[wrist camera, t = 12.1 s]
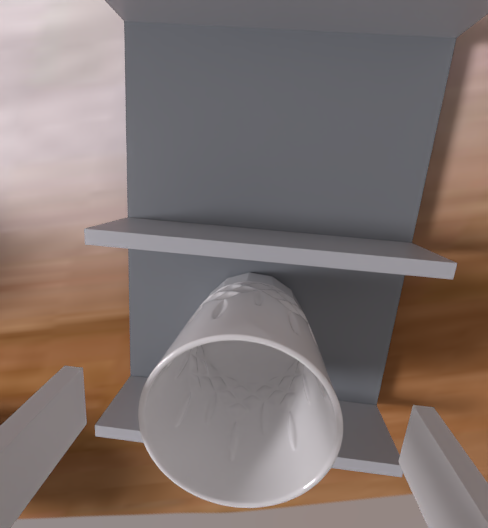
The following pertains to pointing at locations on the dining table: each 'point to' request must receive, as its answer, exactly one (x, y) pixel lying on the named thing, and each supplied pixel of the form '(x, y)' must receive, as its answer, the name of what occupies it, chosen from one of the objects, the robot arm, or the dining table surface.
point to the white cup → (243, 399)
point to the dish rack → (281, 176)
